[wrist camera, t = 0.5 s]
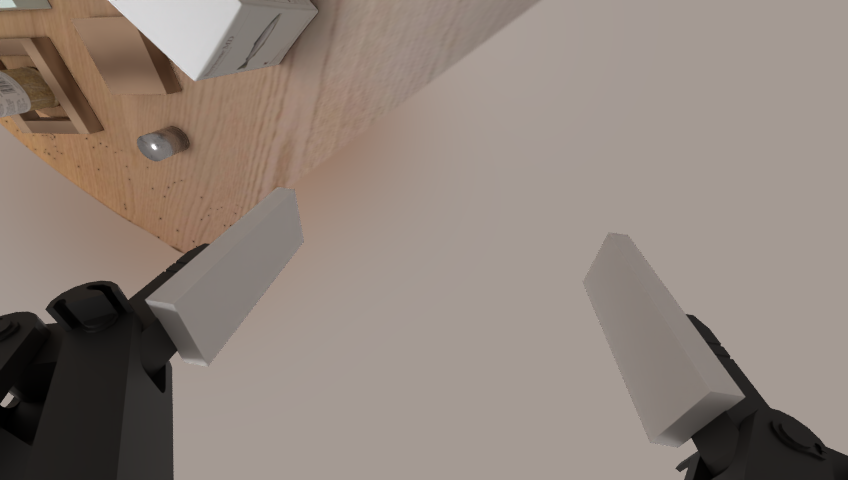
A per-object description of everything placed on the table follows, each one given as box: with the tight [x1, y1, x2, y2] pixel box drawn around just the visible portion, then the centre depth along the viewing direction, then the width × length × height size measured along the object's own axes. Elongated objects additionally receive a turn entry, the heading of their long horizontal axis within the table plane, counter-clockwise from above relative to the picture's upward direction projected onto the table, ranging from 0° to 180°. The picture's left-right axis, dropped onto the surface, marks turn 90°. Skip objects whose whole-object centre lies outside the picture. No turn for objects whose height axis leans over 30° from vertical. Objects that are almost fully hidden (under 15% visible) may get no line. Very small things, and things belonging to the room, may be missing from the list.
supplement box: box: [108, 0, 318, 81], centre depth 25 cm, size 7×7×13 cm
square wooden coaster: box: [71, 16, 182, 95], centre depth 34 cm, size 7×7×2 cm
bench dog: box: [137, 126, 189, 161], centre depth 38 cm, size 3×3×4 cm
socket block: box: [0, 38, 104, 134], centre depth 37 cm, size 10×10×2 cm
